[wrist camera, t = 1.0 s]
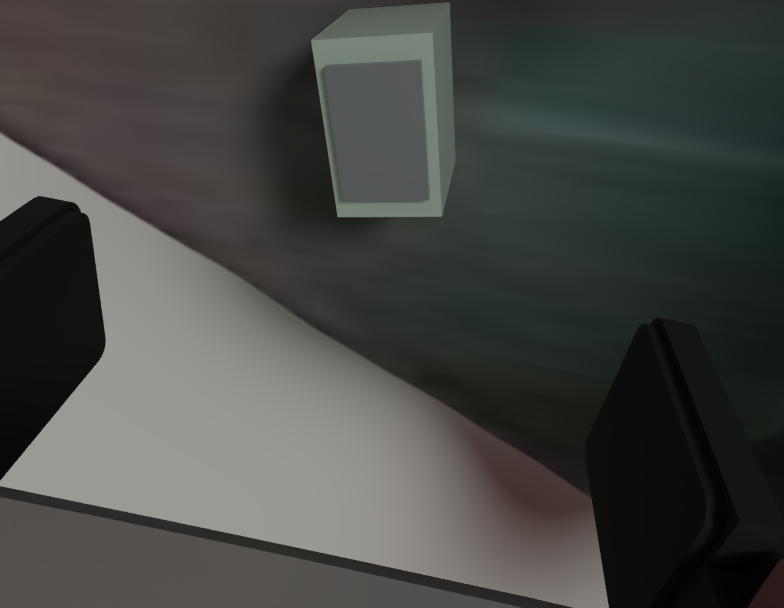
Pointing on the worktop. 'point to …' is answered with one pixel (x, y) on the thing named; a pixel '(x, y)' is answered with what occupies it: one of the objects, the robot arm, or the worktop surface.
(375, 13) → the block
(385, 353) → the worktop surface
